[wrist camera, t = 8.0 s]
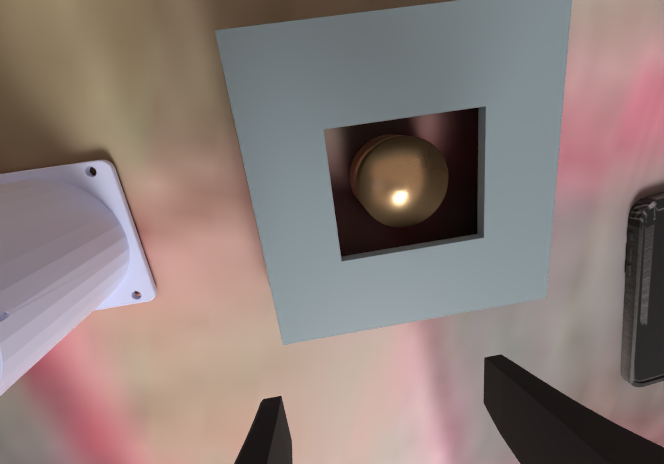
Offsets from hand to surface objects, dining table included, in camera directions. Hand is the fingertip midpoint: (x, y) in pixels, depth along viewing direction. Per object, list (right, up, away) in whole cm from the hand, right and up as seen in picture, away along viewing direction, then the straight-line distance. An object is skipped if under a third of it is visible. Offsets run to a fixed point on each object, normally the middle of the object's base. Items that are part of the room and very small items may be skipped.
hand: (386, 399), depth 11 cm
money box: (+1, +9, +7) cm, 12 cm away
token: (+1, +9, +7) cm, 12 cm away
